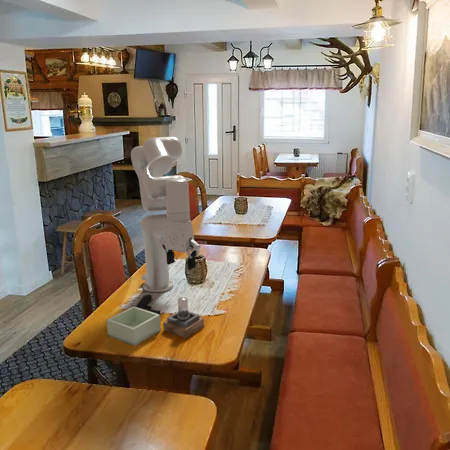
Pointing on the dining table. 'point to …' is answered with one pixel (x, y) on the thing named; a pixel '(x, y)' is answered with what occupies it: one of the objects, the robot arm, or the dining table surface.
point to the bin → (133, 325)
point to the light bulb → (183, 309)
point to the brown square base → (183, 325)
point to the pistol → (144, 304)
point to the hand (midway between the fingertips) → (181, 265)
